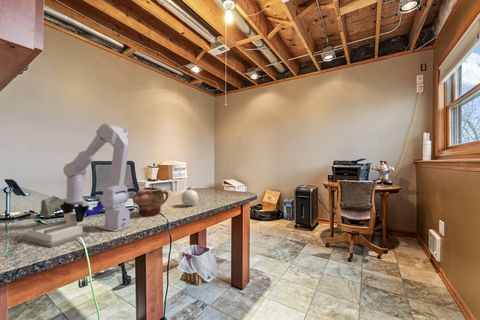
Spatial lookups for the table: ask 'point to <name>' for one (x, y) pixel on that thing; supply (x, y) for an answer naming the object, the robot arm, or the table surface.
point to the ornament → (189, 197)
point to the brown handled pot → (150, 201)
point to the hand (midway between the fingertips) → (74, 220)
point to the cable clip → (96, 209)
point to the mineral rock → (50, 206)
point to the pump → (71, 218)
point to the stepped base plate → (54, 234)
